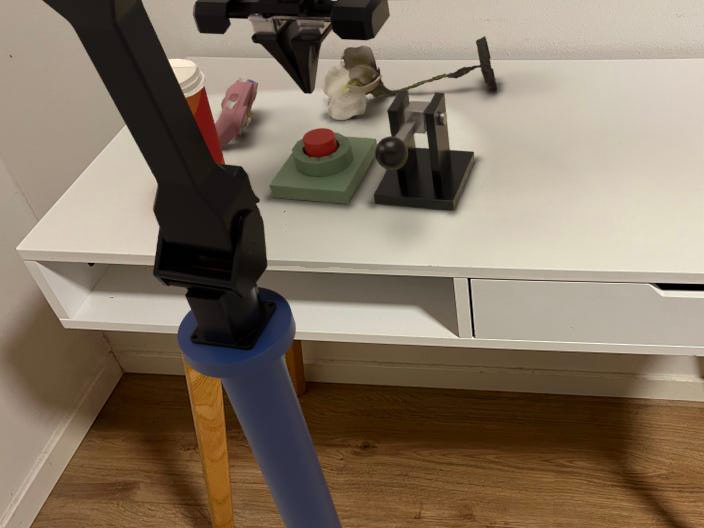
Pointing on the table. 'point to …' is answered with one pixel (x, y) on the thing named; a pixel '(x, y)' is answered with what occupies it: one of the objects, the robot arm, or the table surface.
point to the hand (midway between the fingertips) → (309, 91)
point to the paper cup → (198, 103)
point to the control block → (325, 171)
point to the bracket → (425, 162)
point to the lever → (402, 137)
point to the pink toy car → (236, 110)
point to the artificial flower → (379, 79)
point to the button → (320, 142)
